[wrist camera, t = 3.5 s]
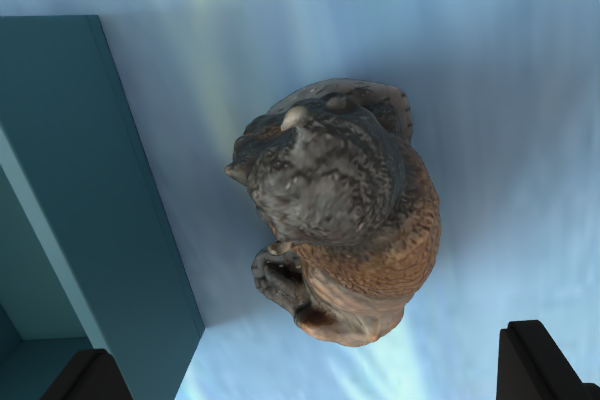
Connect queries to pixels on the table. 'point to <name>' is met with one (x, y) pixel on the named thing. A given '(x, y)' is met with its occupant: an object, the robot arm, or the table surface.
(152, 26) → the table surface
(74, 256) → the bin
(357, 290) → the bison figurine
